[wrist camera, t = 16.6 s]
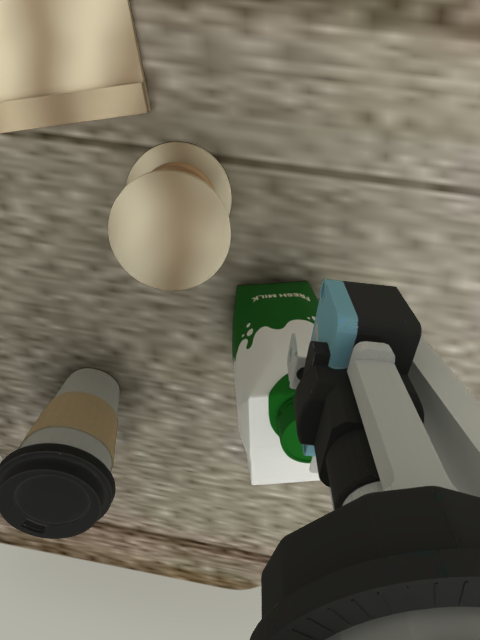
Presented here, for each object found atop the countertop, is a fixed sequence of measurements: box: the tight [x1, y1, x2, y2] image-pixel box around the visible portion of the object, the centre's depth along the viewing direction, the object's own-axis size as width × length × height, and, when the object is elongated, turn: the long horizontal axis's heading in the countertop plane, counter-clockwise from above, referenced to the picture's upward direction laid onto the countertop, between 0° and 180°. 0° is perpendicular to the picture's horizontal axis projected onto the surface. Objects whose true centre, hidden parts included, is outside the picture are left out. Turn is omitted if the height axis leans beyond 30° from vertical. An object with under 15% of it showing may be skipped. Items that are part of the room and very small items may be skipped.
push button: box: [250, 279, 480, 640], centre depth 10 cm, size 7×5×10 cm
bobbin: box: [108, 142, 232, 291], centre depth 34 cm, size 9×9×11 cm
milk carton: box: [232, 281, 320, 485], centre depth 37 cm, size 9×9×20 cm
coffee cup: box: [0, 368, 120, 539], centre depth 42 cm, size 9×9×15 cm
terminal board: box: [0, 0, 151, 133], centre depth 31 cm, size 14×14×3 cm
